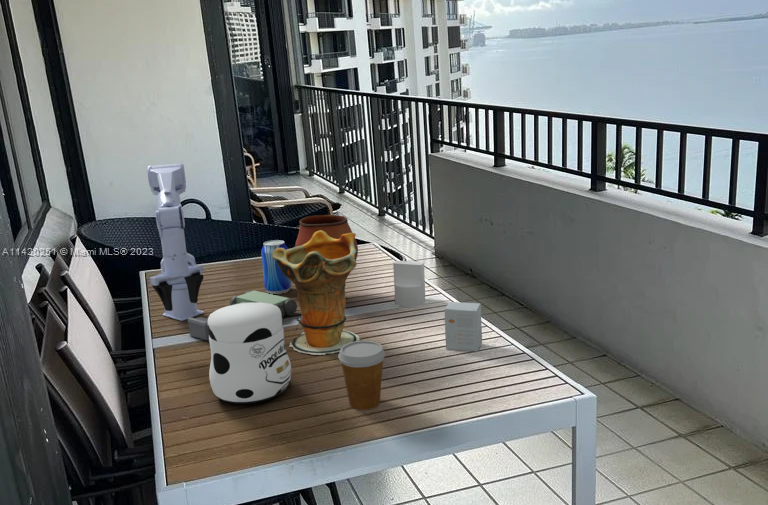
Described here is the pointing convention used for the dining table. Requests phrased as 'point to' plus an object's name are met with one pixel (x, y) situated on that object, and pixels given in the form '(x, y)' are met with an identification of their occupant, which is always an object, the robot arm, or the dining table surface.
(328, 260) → the decorative vase
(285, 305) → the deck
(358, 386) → the disposable coffee cup
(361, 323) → the dining table surface
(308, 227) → the terracotta pot
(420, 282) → the cylinder with rectangular tab
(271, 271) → the beer can
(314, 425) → the dining table surface
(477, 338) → the small box
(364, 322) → the dining table surface
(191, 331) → the grey stepped block
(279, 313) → the milk container
